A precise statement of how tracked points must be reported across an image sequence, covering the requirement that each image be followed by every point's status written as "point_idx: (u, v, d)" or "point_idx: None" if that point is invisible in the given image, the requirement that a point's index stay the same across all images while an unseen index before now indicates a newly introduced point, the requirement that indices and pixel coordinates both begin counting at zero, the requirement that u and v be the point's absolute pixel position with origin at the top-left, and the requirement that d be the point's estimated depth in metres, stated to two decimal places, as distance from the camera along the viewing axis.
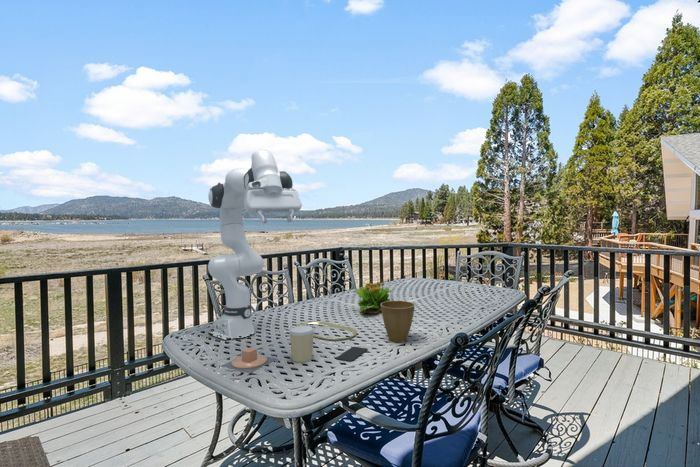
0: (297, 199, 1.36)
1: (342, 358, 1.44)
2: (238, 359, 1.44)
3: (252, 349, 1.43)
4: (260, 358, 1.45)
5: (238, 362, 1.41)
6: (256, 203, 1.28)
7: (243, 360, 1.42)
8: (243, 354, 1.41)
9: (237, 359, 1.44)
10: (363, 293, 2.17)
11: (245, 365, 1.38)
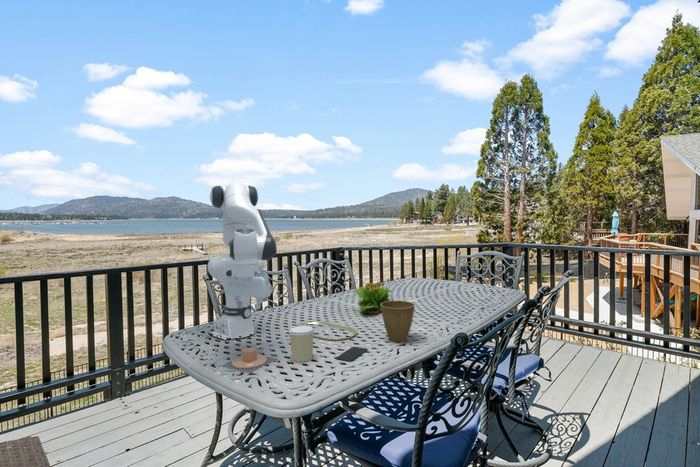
0: (261, 288, 1.36)
1: (342, 358, 1.44)
2: (238, 359, 1.44)
3: (252, 349, 1.43)
4: (260, 357, 1.45)
5: (238, 362, 1.41)
6: (230, 290, 1.43)
7: (243, 360, 1.42)
8: (243, 354, 1.41)
9: (237, 359, 1.44)
10: (363, 293, 2.17)
11: (245, 365, 1.38)
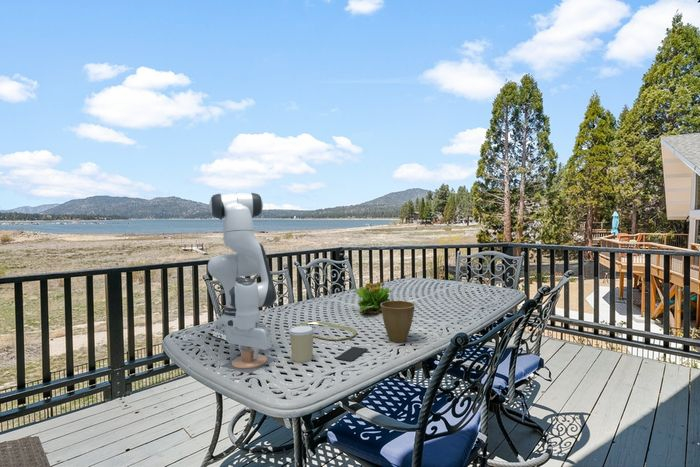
0: (262, 341, 1.37)
1: (342, 358, 1.44)
2: (238, 359, 1.44)
3: (252, 349, 1.43)
4: (260, 357, 1.45)
5: (238, 362, 1.41)
6: (232, 339, 1.44)
7: (243, 360, 1.42)
8: (243, 354, 1.41)
9: (237, 359, 1.44)
10: (363, 293, 2.17)
11: (245, 365, 1.38)
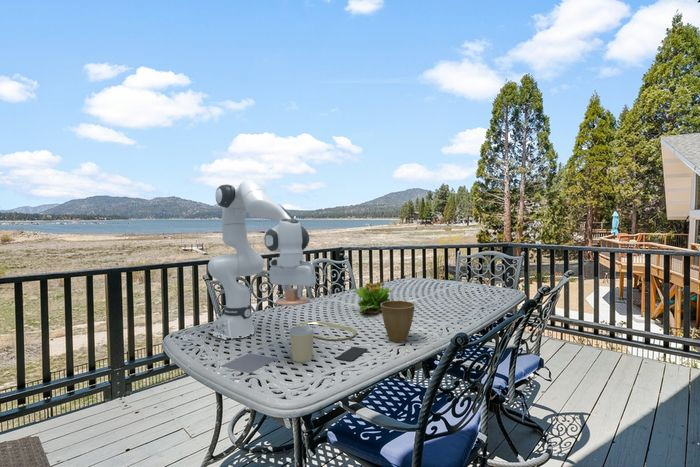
0: (307, 277, 1.38)
1: (342, 358, 1.44)
2: (281, 299, 1.45)
3: (295, 289, 1.44)
4: (303, 298, 1.46)
5: (282, 301, 1.42)
6: (275, 279, 1.45)
7: (287, 299, 1.43)
8: (287, 293, 1.42)
9: (280, 299, 1.45)
10: (363, 293, 2.17)
11: (290, 302, 1.39)
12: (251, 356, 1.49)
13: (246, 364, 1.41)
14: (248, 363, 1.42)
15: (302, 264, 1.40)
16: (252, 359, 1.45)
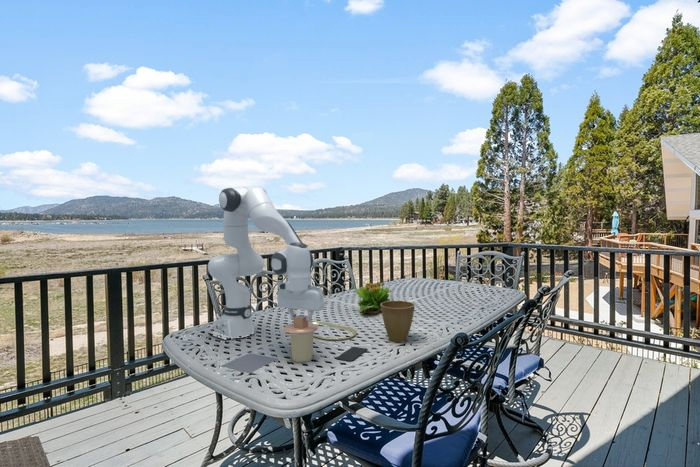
0: (316, 302, 1.39)
1: (342, 358, 1.44)
2: (289, 326, 1.46)
3: (303, 316, 1.45)
4: (311, 325, 1.47)
5: (290, 328, 1.43)
6: (283, 303, 1.46)
7: (295, 326, 1.44)
8: (295, 321, 1.43)
9: (288, 326, 1.46)
10: (363, 293, 2.17)
11: (299, 330, 1.40)
12: (251, 356, 1.49)
13: (246, 364, 1.41)
14: (248, 363, 1.42)
15: (310, 288, 1.41)
16: (252, 359, 1.45)
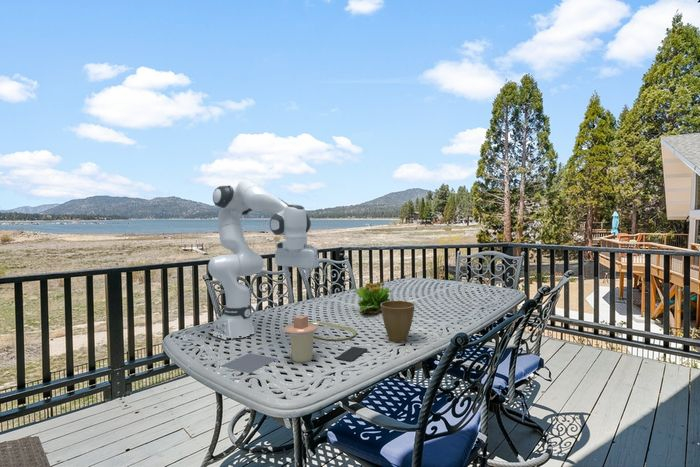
0: (311, 260, 1.48)
1: (342, 358, 1.44)
2: (289, 326, 1.46)
3: (303, 316, 1.45)
4: (311, 325, 1.47)
5: (290, 328, 1.43)
6: (281, 261, 1.56)
7: (295, 326, 1.44)
8: (295, 321, 1.44)
9: (288, 326, 1.46)
10: (363, 293, 2.17)
11: (298, 330, 1.40)
12: (251, 356, 1.49)
13: (246, 364, 1.41)
14: (248, 363, 1.42)
15: (306, 247, 1.51)
16: (252, 359, 1.45)
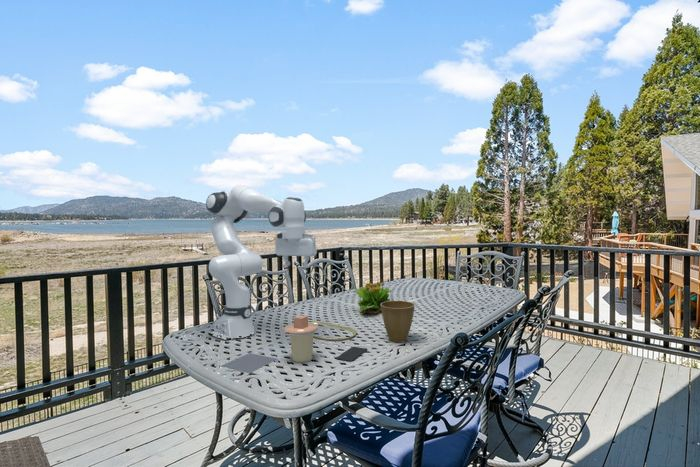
0: (309, 248, 1.57)
1: (342, 358, 1.44)
2: (289, 326, 1.46)
3: (303, 316, 1.45)
4: (311, 325, 1.47)
5: (290, 328, 1.43)
6: (281, 251, 1.65)
7: (295, 326, 1.44)
8: (295, 321, 1.44)
9: (288, 326, 1.46)
10: (363, 293, 2.17)
11: (298, 330, 1.40)
12: (251, 356, 1.49)
13: (246, 364, 1.41)
14: (248, 363, 1.42)
15: (304, 237, 1.60)
16: (252, 359, 1.45)
